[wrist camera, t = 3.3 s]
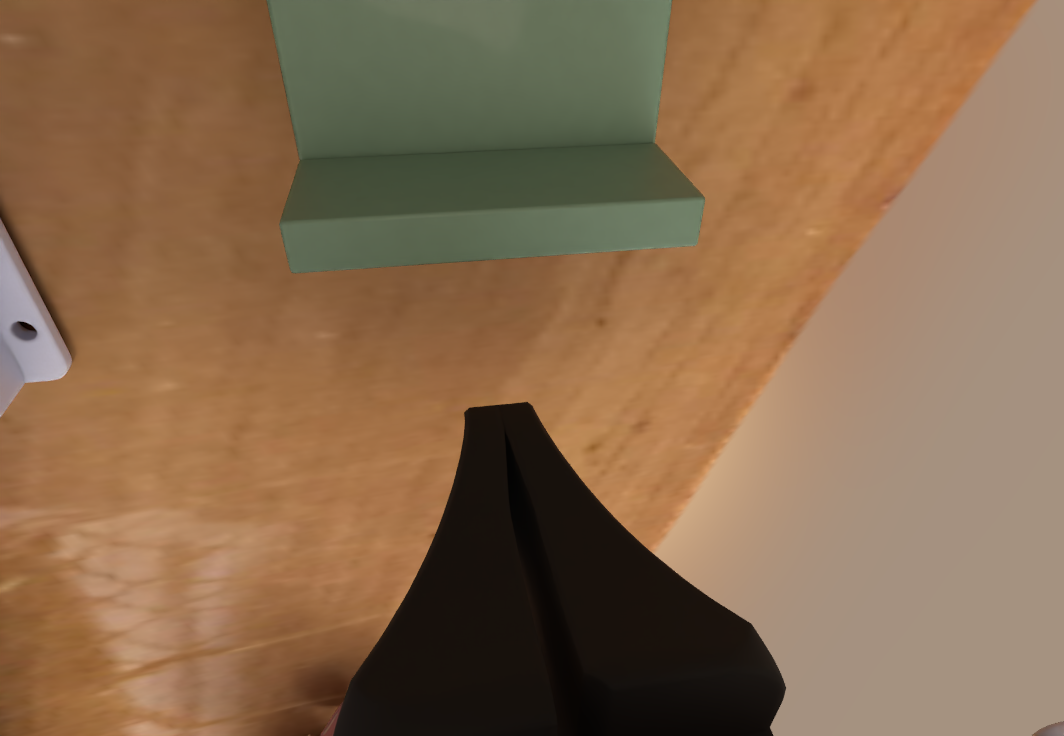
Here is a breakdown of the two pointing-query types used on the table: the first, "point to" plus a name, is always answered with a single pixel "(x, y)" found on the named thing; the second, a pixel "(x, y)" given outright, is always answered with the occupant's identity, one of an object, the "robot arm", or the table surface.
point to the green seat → (476, 131)
